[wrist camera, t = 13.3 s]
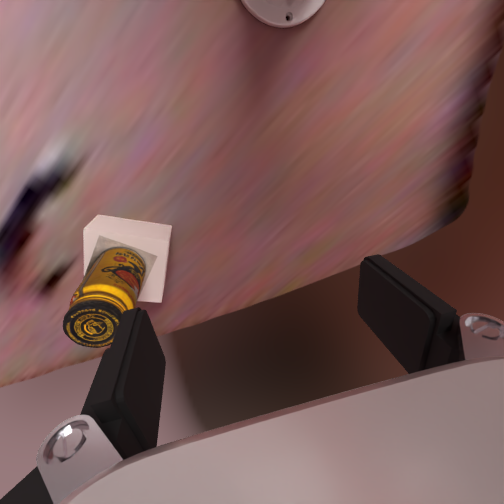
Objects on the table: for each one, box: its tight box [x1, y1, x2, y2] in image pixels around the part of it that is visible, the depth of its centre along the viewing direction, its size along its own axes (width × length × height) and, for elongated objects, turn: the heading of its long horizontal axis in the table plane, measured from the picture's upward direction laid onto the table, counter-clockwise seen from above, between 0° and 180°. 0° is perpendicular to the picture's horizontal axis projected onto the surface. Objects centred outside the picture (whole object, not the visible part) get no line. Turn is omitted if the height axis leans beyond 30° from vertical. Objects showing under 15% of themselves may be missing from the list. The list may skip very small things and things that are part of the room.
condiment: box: [63, 235, 157, 348], centre depth 30 cm, size 7×8×12 cm
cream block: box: [83, 215, 172, 303], centre depth 38 cm, size 10×10×6 cm
